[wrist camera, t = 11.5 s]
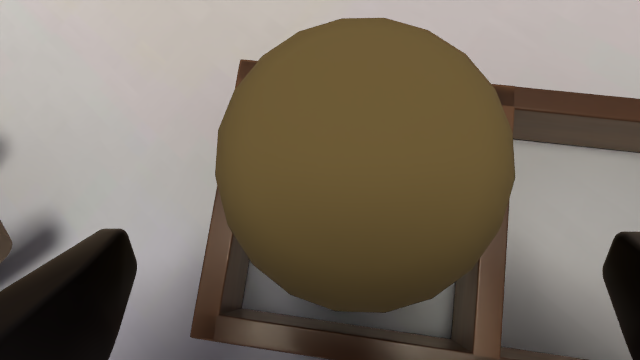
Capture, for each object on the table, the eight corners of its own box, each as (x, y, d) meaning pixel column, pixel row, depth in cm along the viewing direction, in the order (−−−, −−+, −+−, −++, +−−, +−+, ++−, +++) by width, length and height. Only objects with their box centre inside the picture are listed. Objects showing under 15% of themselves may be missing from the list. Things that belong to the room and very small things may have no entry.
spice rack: (729, 405, 16) (818, 435, 13) (216, 327, 17) (188, 338, 14) (721, 141, 17) (797, 113, 14) (257, 92, 19) (240, 58, 16)
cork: (318, 334, 17) (259, 436, 6) (251, 186, 18) (104, 54, 7) (467, 260, 17) (668, 232, 6) (390, 119, 18) (447, -106, 8)
